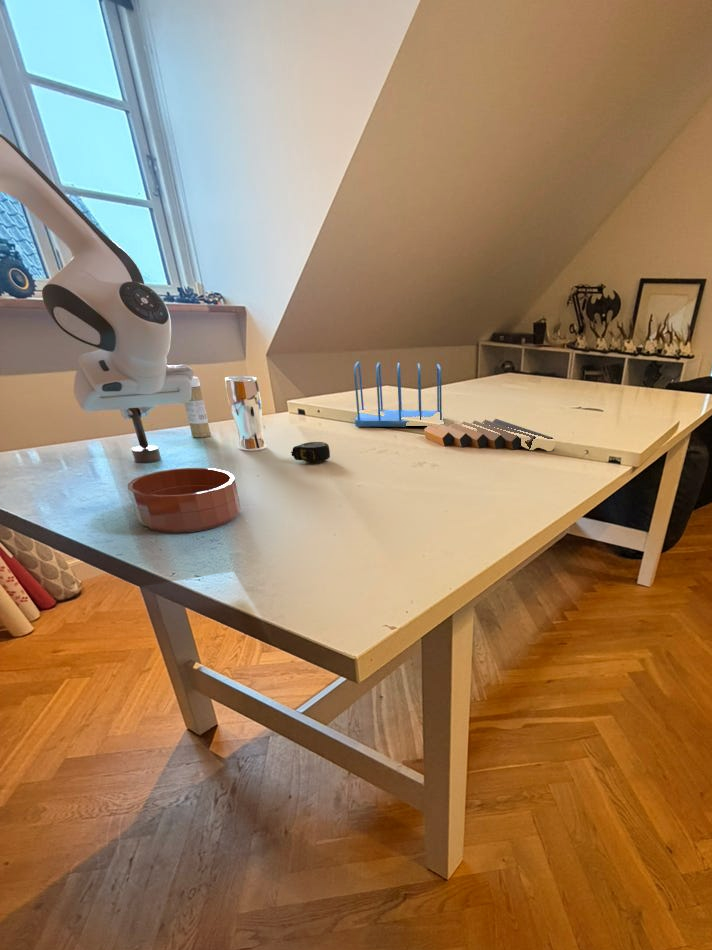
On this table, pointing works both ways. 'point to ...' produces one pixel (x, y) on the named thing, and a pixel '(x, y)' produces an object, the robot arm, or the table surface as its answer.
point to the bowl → (185, 499)
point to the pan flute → (480, 435)
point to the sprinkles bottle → (197, 411)
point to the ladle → (143, 442)
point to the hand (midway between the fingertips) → (134, 415)
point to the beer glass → (246, 411)
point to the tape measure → (311, 452)
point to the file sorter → (394, 416)
